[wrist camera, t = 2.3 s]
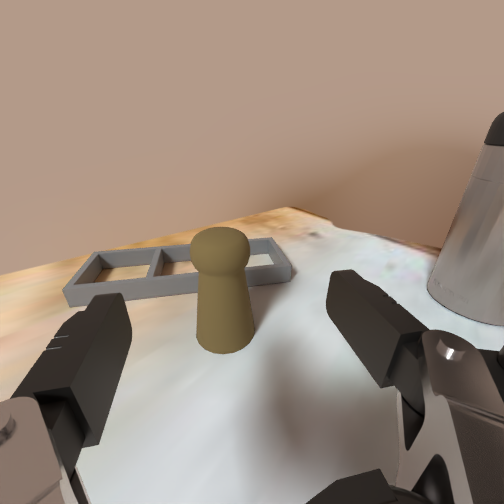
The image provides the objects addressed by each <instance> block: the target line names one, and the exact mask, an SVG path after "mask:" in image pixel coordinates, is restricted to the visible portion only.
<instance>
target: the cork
mask: <svg viewBox="0 0 504 504" xmlns="http://www.w3.org/2000/svg"><path fill="white" fill-rule="evenodd" d="M249 257H250V244H249V241H248V239H247V237H246V236H245V234H244V233H242V232H241V231H239V230H237V229H234V228H229V227H214V228H209V229H206V230H203V231H201V232H199V233H198V234H196V235H195V236H194V238H193V239H192V241H191V245H190V259H191V261H192V263H193V265H194V267H195V268H196V269H197V270H198V271H199V276H198V305H197V334H196V338H197V340H198V342H199V344H200V345H201V346H202V347H203V348H204V349H205V350H208V351H210V352H212V353H218V354H228V353H234V352H236V351H238V350H241V349H243V348H244V347H245V346H246V345H248V344H249V343H250V341H251V340H252V338H253V336H254V331H255V328H254V322H253V316H252V310H251V304H250V298H249V292H248V286H247V280H246V274H245V266H246V265H247V264H248V260H249Z"/></svg>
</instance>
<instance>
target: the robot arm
mask: <svg viewBox="0 0 504 504" xmlns="http://www.w3.org/2000/svg"><path fill="white" fill-rule="evenodd" d="M484 143H485V144H484V145H483V146H482V149H481V151H480V154H479V156H478V159H477V161H476V164H475V166H474V169H473V172H472V175H471V177H470V180H469V182H468V185H467V187H466V189H465V192H464V194H463V197H462V200H461V202H460V205H459V207H458V210H457V212H456V215H455V217H454V220H453V222H452V225H451V227H450V230H449V232H448V235H447V237H446V240H445V242H444V245H443V247H442V250H441V252H440V255H439V257H438V260H437V262H436V265H435V267H434V270H433V272H432V275H431V277H430V280H429V282H428V285H427V289H428V291H429V293H430V294H431V296H432V297H433V298H434V299H435V300H437V301H438V302H439V303H440V304H442V305H443V306H445V307H447V308H448V309H450V310H452V311H454V312H456V313H458V314H460V315H463V316H465V317H467V318H470V319H473V320H476V321H479V322H483V323H488V324H492V325H500V326H504V112H503V113H501V114H499V115H498V116H497V117H496V118H495V120H494V121H493V122H492V125H491V127H490V129H489V132H488V134H487V137H486V139H485V141H484ZM326 309H327V313H328V315H329V317H330V319H331V320H332V321H333V323H334V324H335V325H336V327H337V328H338V330H339V331H340V332H341V334H342V335H343V337H344V338H345V339H346V341H347V342H348V344H349V345H350V346H351V348H352V349H353V351H354V352H355V353H356V355H357V356H358V358H359V359H360V360H361V362H362V363H363V364H364V366H365V367H366V369H367V370H368V371H369V373H370V374H371V376H372V377H373V378H374V380H375V381H376V383H377V384H378V385H379V387H380V388H385V387H389V386H394V385H395V387H396V388H397V389H398V390H399V391H398V394H397V398H396V401H397V419H398V437H399V467H398V471H397V477H396V486H392V485H388V483H387V481H386V479H385V478H384V476H383V474H382V472H381V470H380V469H376V470H372V471H369V472H365V473H361V474H358V475H354V476H350V477H347V478H343V479H339V480H336V481H335V482H333V483H332V484H331V485H329V486H328V487H327V488H325V489H324V490H323V491H321V492H320V493H319V494H317V495H316V496H315V497H313V498H312V499H311V500H310V501H308V502H307V503H306V504H504V346H503V347H502V349H501V350H500V351H492V350H483V349H476V348H475V347H474V346H473V345H472V344H471V343H469V342H468V341H466V340H465V339H463V338H461V337H459V336H457V335H455V334H452V333H449V332H446V331H442V330H429V329H428V328H427V327H426V326H425V325H423V324H422V323H421V322H420V321H419V320H418V319H416V318H415V317H414V316H413V315H412V314H410V313H409V312H408V311H407V310H406V309H404V308H403V307H402V306H401V305H400V304H397V302H396V301H395V300H394V299H393V298H391V297H389V296H388V294H387V293H386V292H384V291H383V290H382V289H381V288H380V287H378V286H376V285H375V284H373V283H371V282H369V281H367V280H364V279H363V278H362V277H361V276H360V275H359V274H357V273H356V272H355V271H354V270H351V269H350V270H340V271H333V272H332V274H331V276H330V282H329V287H328V293H327V299H326ZM131 341H132V327H131V323H130V319H129V316H128V312H127V308H126V305H125V301H124V298H123V295H122V294H121V293H109V294H99V295H95V296H94V297H93V299H92V300H91V302H90V303H89V305H88V306H87V308H86V309H85V311H79V312H77V313H76V314H74V315H73V316H72V317H71V318H69V319H68V320H67V321H66V322H64V323H63V325H62V326H61V327H60V329H59V330H58V332H57V333H56V334H55V336H54V339H52V340H51V341H50V343H49V344H48V346H47V347H46V351H43V353H42V354H41V355H40V357H39V358H38V360H37V361H36V363H35V364H34V365H33V367H32V368H31V370H30V371H29V372H28V374H27V375H26V377H25V378H24V379H23V381H22V382H21V384H20V385H19V386H18V388H17V389H16V391H15V392H14V393H13V395H12V396H11V398H10V399H8V400H5V401H3V402H0V504H91V502H90V499H89V496H88V494H87V491H86V489H85V486H84V484H83V481H82V479H81V476H80V473H79V471H78V468H77V467H76V463H77V460H78V457H79V455H80V452H81V449H82V448H85V447H90V446H95V445H99V442H100V439H101V436H102V433H103V430H104V427H105V424H106V420H107V417H108V414H109V411H110V408H111V405H112V402H113V398H114V395H115V392H116V389H117V386H118V383H119V380H120V377H121V373H122V370H123V367H124V364H125V361H126V358H127V355H128V351H129V348H130V345H131Z"/></svg>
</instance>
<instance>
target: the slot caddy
mask: <svg viewBox="0 0 504 504" xmlns="http://www.w3.org/2000/svg"><path fill="white" fill-rule="evenodd" d="M248 241H249V244H250V255H255V254H266V253H268V254H269V256H270V257H271V259H272V261H273V263H274V265H264V266H254V267H245V274H246V280H247V286H256V285H265V284H273V283H282V282H290V278H291V267H292V266H291V264H290V263H289V261H288V260H287V258H286V257H285V255H284V254H283V253H282V251H281V250H280V248H279V247H278V245H277V244H276V242H275V241H274V240H273V238H272V237H271V238H259V239H248ZM190 245H191V244H185V245H173V246H161V247H148V248H136V249H124V250H112V251H99V252H94V253H93V254H92V255H91V256H90V257H89V258H88V260H87V261H86V262H85V263H84V264H83V266H82V267H81V268H80V269H79V270H78V272H77V273H76V274H75V275H74V276H73V277H72V279H71V280H70V281H69V282H68V283H67V285H66V286H65V287H64V288H63V289H62V291H63V293H64V295H65V298H66V300H67V302H68V304H69V307H76V306H85V305H89V303H90V302H91V300H92V299H93V297H94V296H95V295H99V294H109V293H121V294H122V295H123V298H124V301H128V300H136V299H145V298H153V297H162V296H170V295H179V294H188V293H196V292H198V276H199V272H195V273H185V274H176V275H166V276H161V273H162V269H163V265H164V263H169V262H180V261H191V259H190ZM148 264H151V265H150V267H149V270H148V273H147V276H146V278H137V279H127V280H117V281H107V282H97V283H93V282H94V281H95V279H96V278H97V277H98V275H99V274H100V272H101V271H102V269H105V268H116V267H126V266H137V265H148Z"/></svg>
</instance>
